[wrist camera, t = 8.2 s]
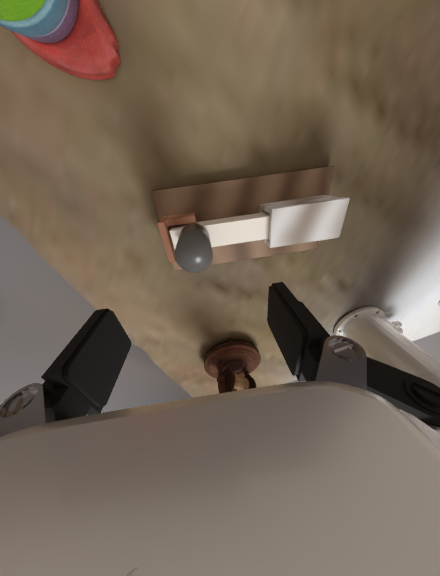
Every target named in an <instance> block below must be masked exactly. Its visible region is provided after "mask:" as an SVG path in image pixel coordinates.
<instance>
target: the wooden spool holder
mask: <svg viewBox="0 0 440 576" xmlns="http://www.w3.org/2000/svg"><path fill="white" fill-rule="evenodd" d="M260 360H261V358H260V354H259V351H258V349H257V348H256V347H255V346H254V345H252V344H250V343H247V342H242V341H232V339H229V341H228V342H227V343H223V344H220V345H218V346H216V347H214V348H213V349H212V350H210V351H209V352H208V353H207V355H206V356H205V359H204V368H205V371H206V372H207V373H208V374H209V375H210V376H212V377H214V378H217V382H218V389H219V394H220V393H227V392H233V391H237V390H238V391H239V390H246V389H252V388H256V383H255V381H254V379H253V378H252V377H251V376H250V375H249V374H250V373H251V372H253V371H254V370H255V369H256V368H257V367H258V365H259V363H260Z"/></svg>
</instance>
